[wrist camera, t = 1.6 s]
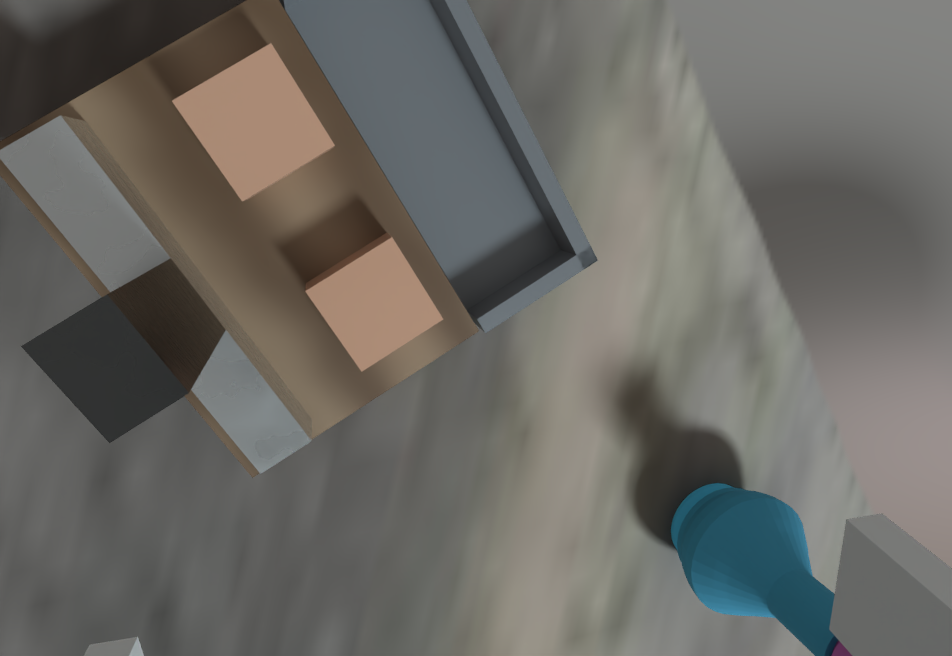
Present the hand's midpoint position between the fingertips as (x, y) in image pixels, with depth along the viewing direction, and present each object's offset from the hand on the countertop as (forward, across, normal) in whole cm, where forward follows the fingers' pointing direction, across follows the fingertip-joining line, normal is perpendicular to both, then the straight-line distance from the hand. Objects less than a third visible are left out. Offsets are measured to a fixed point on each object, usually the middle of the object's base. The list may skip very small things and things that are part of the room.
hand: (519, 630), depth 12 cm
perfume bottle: (+29, -20, +22) cm, 42 cm away
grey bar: (+23, +12, -1) cm, 26 cm away
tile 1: (+24, +3, 0) cm, 24 cm away
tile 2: (+24, +7, -9) cm, 27 cm away
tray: (+29, -2, -8) cm, 30 cm away
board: (+28, +9, -3) cm, 29 cm away
